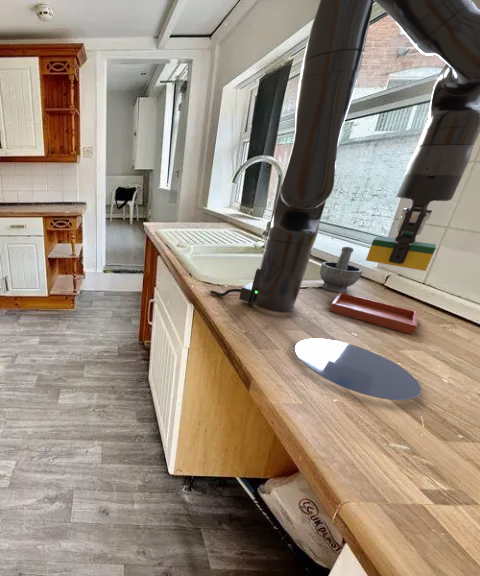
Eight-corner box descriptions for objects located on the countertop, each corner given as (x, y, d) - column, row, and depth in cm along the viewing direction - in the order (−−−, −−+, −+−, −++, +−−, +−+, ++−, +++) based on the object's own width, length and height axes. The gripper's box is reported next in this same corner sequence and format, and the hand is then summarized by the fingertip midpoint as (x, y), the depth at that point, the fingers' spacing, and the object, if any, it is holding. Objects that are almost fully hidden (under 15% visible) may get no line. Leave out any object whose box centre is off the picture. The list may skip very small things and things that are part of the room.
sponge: (365, 260, 65) (373, 239, 63) (369, 256, 68) (376, 236, 66) (425, 271, 59) (435, 248, 57) (426, 265, 62) (435, 244, 60)
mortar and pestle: (353, 297, 85) (369, 256, 81) (313, 288, 91) (326, 249, 86) (353, 287, 93) (368, 248, 89) (317, 279, 99) (329, 242, 94)
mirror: (280, 367, 53) (282, 361, 52) (305, 334, 64) (307, 329, 64) (417, 425, 42) (421, 418, 41) (418, 373, 53) (421, 367, 53)
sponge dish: (329, 310, 76) (331, 303, 75) (337, 299, 83) (340, 292, 83) (413, 334, 66) (417, 326, 65) (413, 319, 74) (417, 311, 73)
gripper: (408, 172, 64) (377, 251, 70) (403, 171, 55) (368, 262, 61) (461, 174, 59) (423, 258, 65) (465, 173, 50) (420, 271, 56)
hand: (396, 259), depth 63 cm, fingers closed on sponge, 5 cm apart
